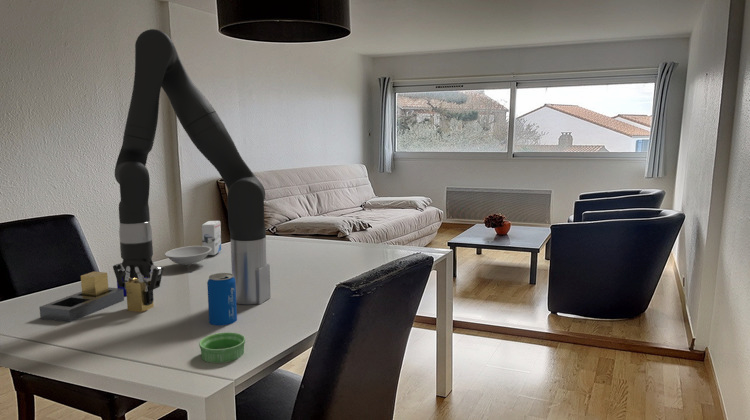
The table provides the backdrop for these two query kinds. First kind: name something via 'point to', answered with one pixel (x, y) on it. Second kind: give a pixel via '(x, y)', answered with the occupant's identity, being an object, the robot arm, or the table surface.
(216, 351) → the ramekin
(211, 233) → the ink box
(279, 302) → the table surface
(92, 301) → the grey flat open box
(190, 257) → the dish
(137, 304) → the wooden toy block
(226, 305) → the beverage can
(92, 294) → the beige cube
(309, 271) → the table surface
